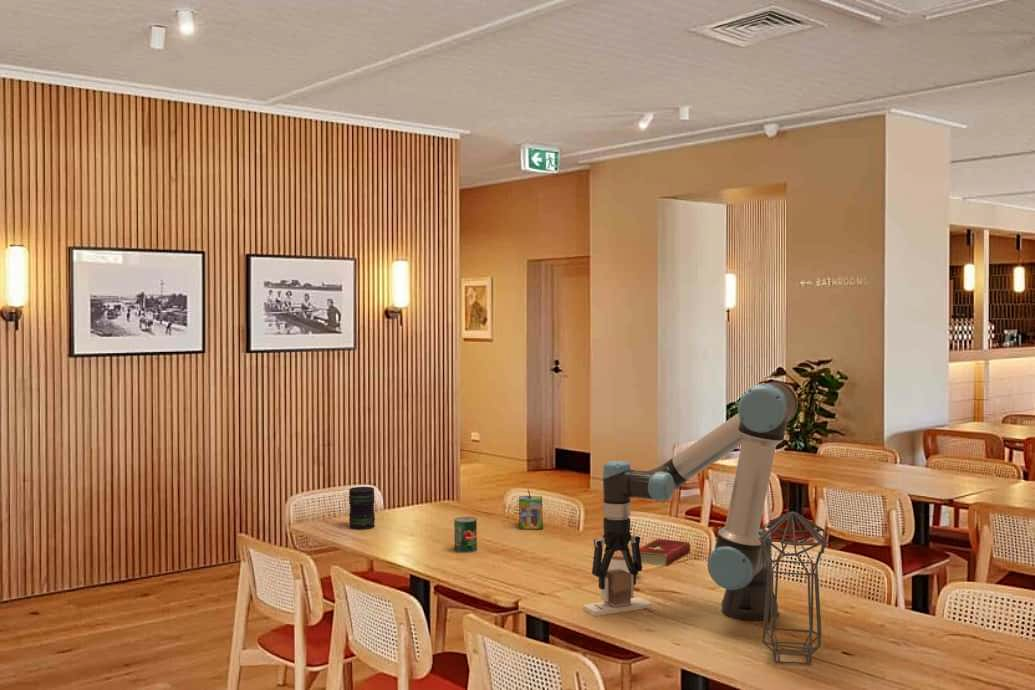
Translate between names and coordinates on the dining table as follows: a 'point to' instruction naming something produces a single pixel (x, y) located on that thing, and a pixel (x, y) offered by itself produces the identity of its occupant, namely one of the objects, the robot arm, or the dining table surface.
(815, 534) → the geometric lantern
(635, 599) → the board
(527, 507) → the green juice box
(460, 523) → the canned tomato
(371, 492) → the storage jar
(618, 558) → the lidded jar
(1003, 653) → the dining table surface
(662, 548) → the hardcover book
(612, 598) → the eraser block
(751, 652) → the dining table surface
